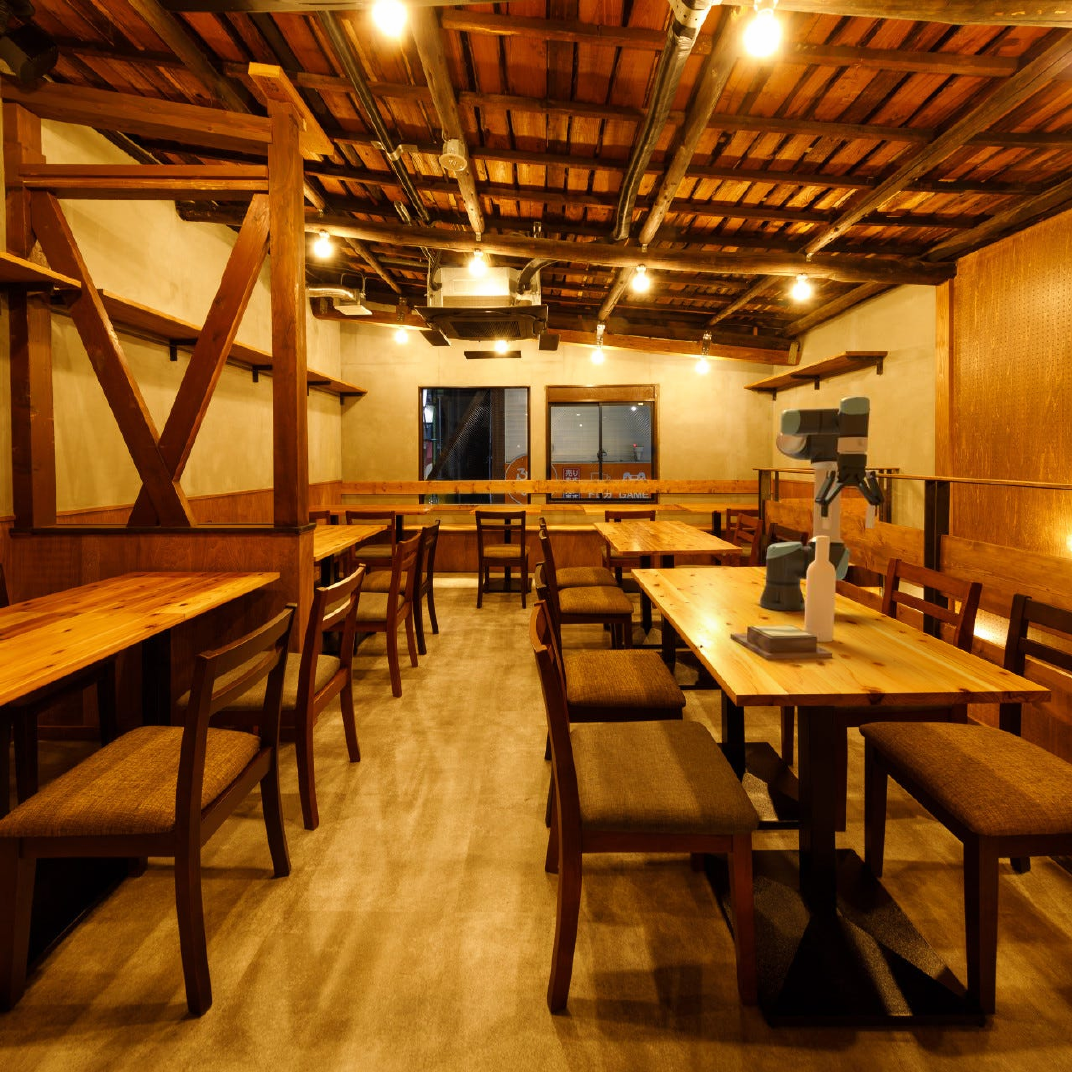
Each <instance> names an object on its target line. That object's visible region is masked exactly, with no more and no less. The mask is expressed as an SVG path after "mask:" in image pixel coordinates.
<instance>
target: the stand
mask: <svg viewBox="0 0 1072 1072" xmlns="http://www.w3.org/2000/svg"><path fill="white" fill-rule="evenodd" d="M746 631H747V632H746V633H744V632H743V633H730V637H729V638H730V639H731V640H733V641H734V642H736V643H738V644H740V645H741V646H742V647H744V648H746V649H748V650H750V651H751V652H753V653H755V654H756V655H758V656H760V657H761V658H763V659H765V660H767V661H768V660H769V661H771V660H772V661H773V660H797V659H799V660H800V659H801V660H803V659H826V658H833V652H831V651H829V650H827V649H825V648H823V647H821V646H819V645H818V642H817V637H816V636H814V635H812V634H810V633H807V632H805V631H804V629H800V628H799V627H796V626H794V625H792V624H784V625H783V624H781V625H780V624H779V625H752V626H750V625H748V626H747V630H746Z"/></svg>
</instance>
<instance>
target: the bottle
mask: <svg viewBox="0 0 1072 1072" xmlns="http://www.w3.org/2000/svg"><path fill="white" fill-rule="evenodd" d="M815 542H816V550H815V560H814V561H813V562H812V563H811V564H810V565H809V567H808V569H807V578H806V579H805V580H806V582H805V599H804V601H805V609H804V624H803V625H804V626H803V631H805V632H807V633H810V634H812V635H814V636H816V637H817V643H830V642H832V641H833V640H834V634H835V632H834V625H835V607H836V606H835V605H836V604H835V603H836V584H837V580H836V571H835V568H834V566H833V565H832V564H831V563H830V562H829V544H830V537H829V536H816V540H815Z"/></svg>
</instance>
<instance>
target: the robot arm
mask: <svg viewBox="0 0 1072 1072" xmlns="http://www.w3.org/2000/svg"><path fill="white" fill-rule="evenodd" d="M870 401H871V400H870V398H868V397H867V396H851V397H849V396H848V397H844V398H842V399H840V403H839V407H838V408H812V409H811V408H806V409H805V408H804V409H803V408H799V409H797V408H793V409H785V410H783V411H781V416H780V431H779V432H778V433H777V436H776V439H775V444H776V448H777V449H778V451H779V452H780V453H781V454H783V455H784V456H786V457H788V458H789V459H793V460H796V461H797V460H799V461H809V462H810V467H811V468H812V469H814V495H813V498H814V499H813V530H812V531H813V533H812V535H813V536H812V538H810V539H809V540H808V541H807V544H808V545H807V546H804V545H803V543H802V541H786V542H777V543H773V544H770V545H769V546H768V547H767V549H766V551H767V552H766V557H765V559H766V567H765V568H766V571H765V585H764V587H763V591H762V593H761V596H760V598H759V606H760V607H761V608H764V609H769V610H774V611H783V612H797V611H798V612H799V611H803V610H805V598H804V595H803V592H802V588H801V580H806V578H807V569H808V567H809V565H810V564H811V563H812V562H813V561H814V560H815V550H816V542H815V540H816V536H829V537H830V544H829V562H830V563H831V564H832V565H833V566H834V568H835V571H836V581H841V580H843V579H844V578H845V577H846V575H847V572H848V567H849V564H850V552H851V551H850V550H851V549H850V548H849V547H846V546H845V541H844V540H843V539H842V538H841V512H842V511H841V507H842V506H841V503H842V499H841V498H842V490H843V489H845V488H846V487H856V488H857V489H858V490H859V492H860V493H861V494H862V495H863V496H864V498H865V499H866V501H867V503H868V504H867V505H866V510H865V511H866V513H865V528H866V529H875V524H876V523H875V520H876V518H875V517H877V515H878V506H880V505H881V504H884V503H885V502H886V501H885V498H884V495H883V493H882V490H881V488H880V485H879V483H878V482H879V481H878V479H877V472H876V470H866V467H867V465H868V464H867V463H868V455H867V452H868V446H869V445H868V443H869V425H870V412H871V406H870V405H871V404H870V403H871V402H870ZM865 479H866V480H865ZM866 481H867V482H866Z"/></svg>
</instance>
